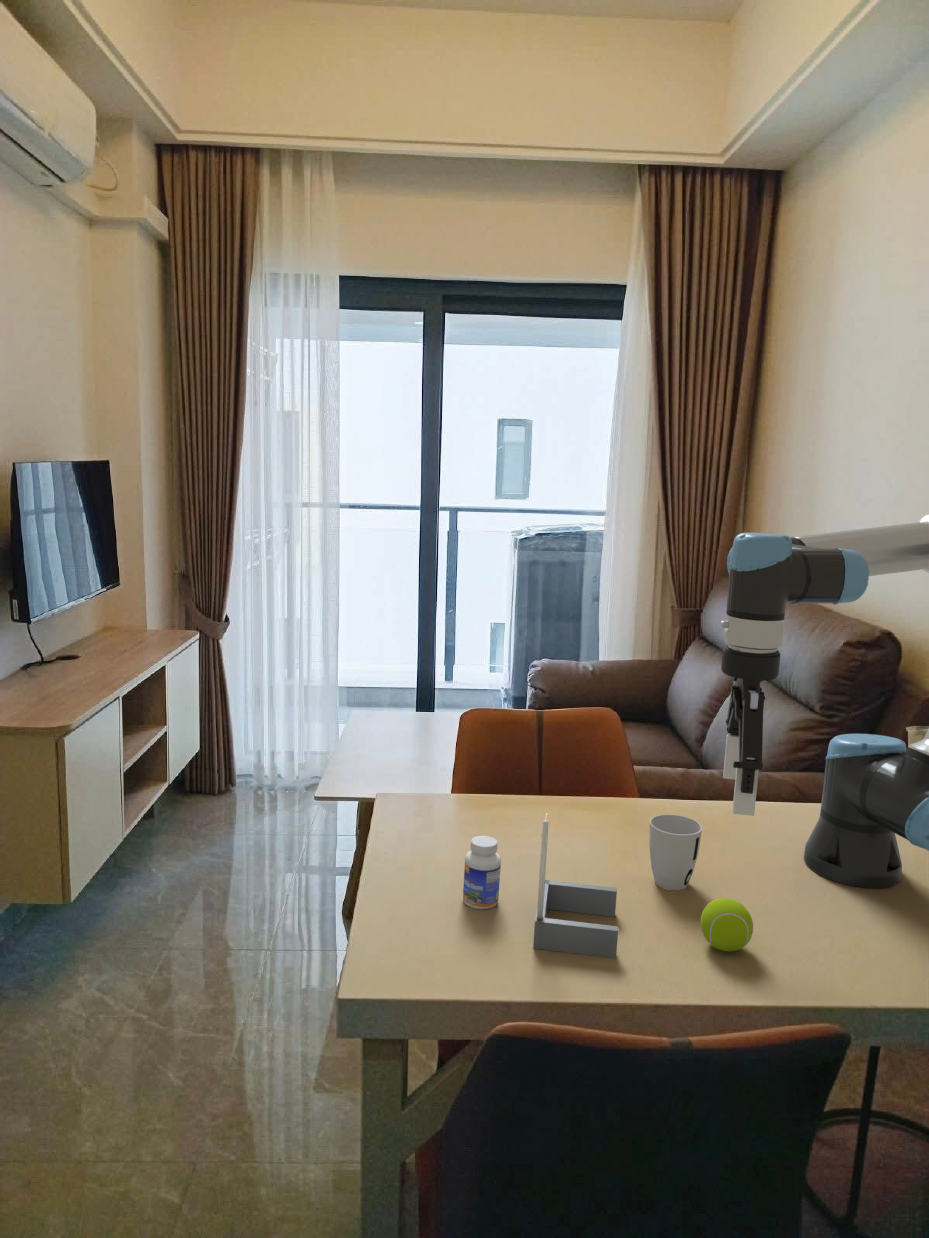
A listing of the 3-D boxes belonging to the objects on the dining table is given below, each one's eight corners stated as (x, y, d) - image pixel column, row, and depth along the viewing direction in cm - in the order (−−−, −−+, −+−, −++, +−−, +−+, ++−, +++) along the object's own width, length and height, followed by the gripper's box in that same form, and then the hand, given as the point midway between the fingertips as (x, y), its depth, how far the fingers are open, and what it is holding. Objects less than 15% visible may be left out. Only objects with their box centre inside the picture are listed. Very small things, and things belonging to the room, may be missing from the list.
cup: (698, 898, 135) (703, 837, 133) (644, 891, 136) (649, 831, 135) (695, 874, 143) (700, 817, 141) (644, 868, 144) (649, 811, 142)
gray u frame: (614, 912, 129) (623, 798, 126) (616, 958, 117) (625, 832, 114) (539, 904, 131) (546, 790, 128) (533, 948, 119) (540, 824, 116)
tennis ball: (754, 964, 117) (759, 916, 116) (701, 958, 118) (705, 910, 117) (746, 937, 124) (751, 891, 123) (696, 931, 125) (700, 886, 124)
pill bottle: (455, 900, 131) (457, 839, 129) (480, 889, 135) (483, 830, 133) (481, 914, 127) (484, 852, 126) (506, 902, 131) (509, 841, 129)
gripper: (715, 628, 131) (703, 763, 135) (732, 664, 107) (717, 827, 111) (767, 632, 129) (754, 768, 133) (796, 669, 105) (779, 834, 109)
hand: (737, 795), depth 122 cm, fingers open, 13 cm apart
